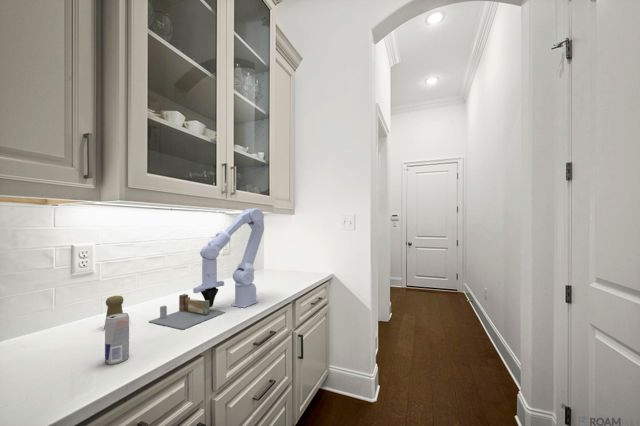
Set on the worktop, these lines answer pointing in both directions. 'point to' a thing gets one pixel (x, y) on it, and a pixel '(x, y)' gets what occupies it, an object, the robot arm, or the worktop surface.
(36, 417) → the worktop surface
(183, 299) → the hinge post
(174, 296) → the worktop surface
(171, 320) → the mat
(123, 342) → the energy drink
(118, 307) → the cork
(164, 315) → the post
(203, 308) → the gate
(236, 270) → the robot arm
